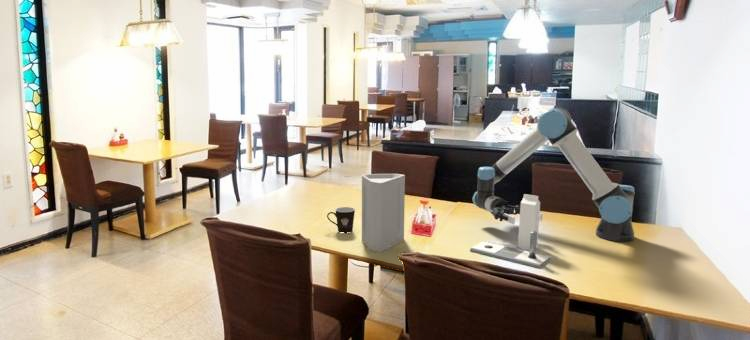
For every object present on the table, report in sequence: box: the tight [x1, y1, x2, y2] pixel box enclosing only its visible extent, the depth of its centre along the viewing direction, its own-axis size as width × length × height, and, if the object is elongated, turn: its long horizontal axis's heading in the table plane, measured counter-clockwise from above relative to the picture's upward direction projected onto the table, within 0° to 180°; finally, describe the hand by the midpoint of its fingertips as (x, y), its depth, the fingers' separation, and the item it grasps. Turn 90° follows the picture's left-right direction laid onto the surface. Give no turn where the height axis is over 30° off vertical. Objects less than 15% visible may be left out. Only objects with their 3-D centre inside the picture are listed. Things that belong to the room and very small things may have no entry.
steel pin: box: [528, 231, 538, 258], centre depth 187 cm, size 2×2×10 cm
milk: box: [517, 193, 541, 251], centre depth 200 cm, size 6×6×22 cm
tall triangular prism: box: [361, 173, 406, 253], centre depth 205 cm, size 19×15×28 cm
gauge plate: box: [469, 240, 552, 269], centre depth 194 cm, size 28×12×1 cm, turn 51°
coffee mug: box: [326, 206, 356, 234], centre depth 222 cm, size 12×9×10 cm
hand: (528, 219), depth 200 cm, fingers open, 13 cm apart
